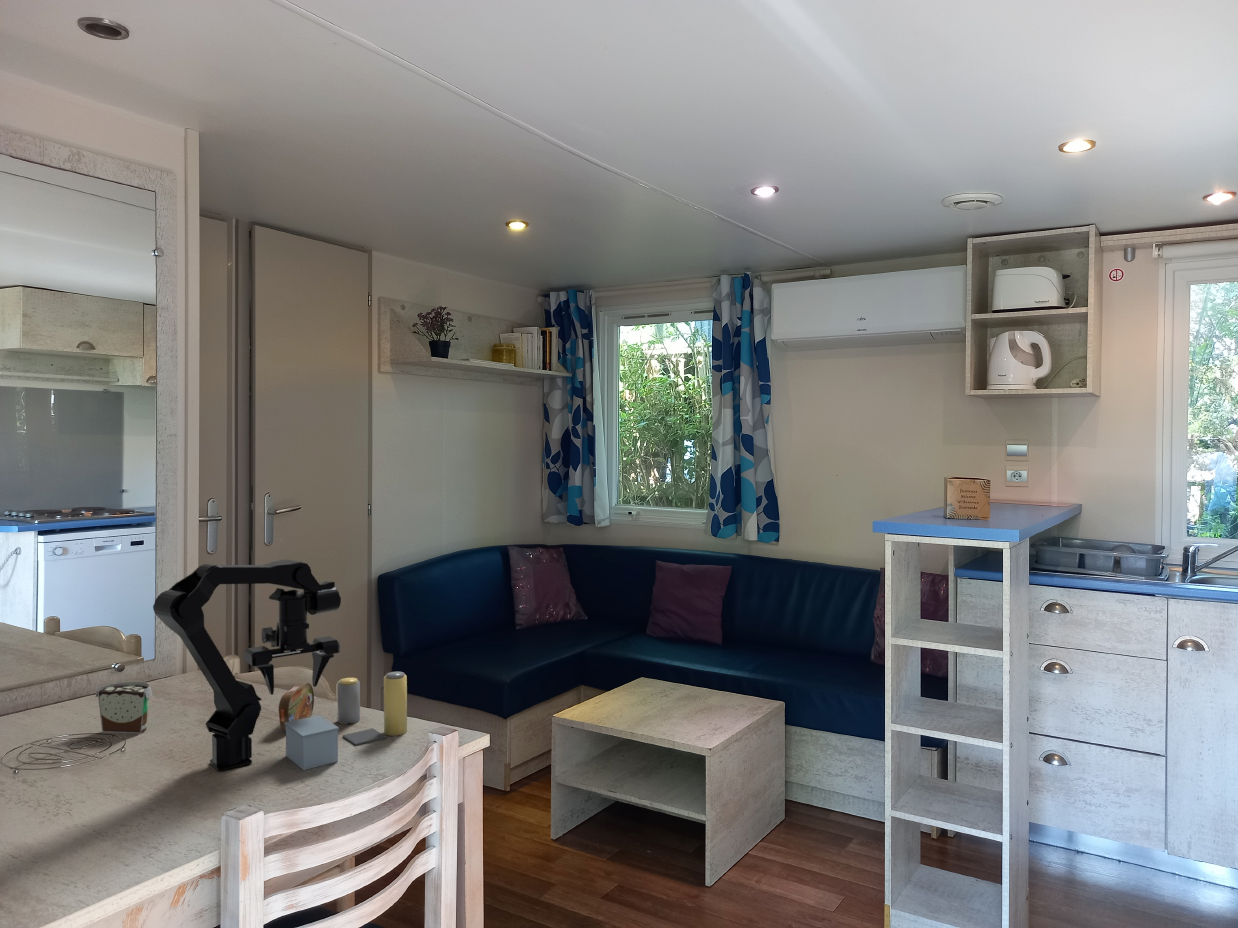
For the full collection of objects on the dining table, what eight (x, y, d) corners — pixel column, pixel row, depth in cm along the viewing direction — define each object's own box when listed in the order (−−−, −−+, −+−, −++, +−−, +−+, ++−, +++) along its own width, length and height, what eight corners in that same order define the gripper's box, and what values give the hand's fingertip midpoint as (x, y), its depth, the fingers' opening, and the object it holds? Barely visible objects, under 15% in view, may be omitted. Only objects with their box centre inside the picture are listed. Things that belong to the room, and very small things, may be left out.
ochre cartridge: (390, 736, 189) (389, 678, 188) (380, 731, 193) (379, 673, 192) (410, 731, 192) (410, 674, 192) (400, 726, 196) (400, 669, 195)
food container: (164, 724, 197) (164, 681, 197) (147, 733, 191) (146, 689, 190) (114, 722, 198) (114, 680, 198) (95, 731, 192) (95, 687, 192)
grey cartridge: (342, 725, 196) (342, 684, 196) (334, 720, 200) (333, 679, 200) (363, 721, 199) (363, 680, 199) (354, 715, 203) (354, 675, 203)
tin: (290, 734, 190) (289, 697, 190) (276, 734, 190) (275, 697, 190) (315, 713, 205) (315, 678, 205) (302, 713, 205) (302, 678, 205)
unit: (303, 770, 170) (302, 735, 169) (284, 755, 178) (284, 722, 177) (339, 761, 174) (339, 727, 174) (319, 747, 182) (319, 714, 182)
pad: (355, 745, 183) (355, 743, 183) (342, 736, 189) (342, 735, 189) (386, 738, 188) (386, 736, 188) (372, 729, 193) (372, 728, 193)
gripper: (321, 607, 197) (321, 674, 197) (236, 618, 184) (236, 689, 185) (340, 615, 188) (341, 685, 188) (252, 626, 176) (253, 701, 176)
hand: (293, 690), depth 185 cm, fingers open, 9 cm apart
